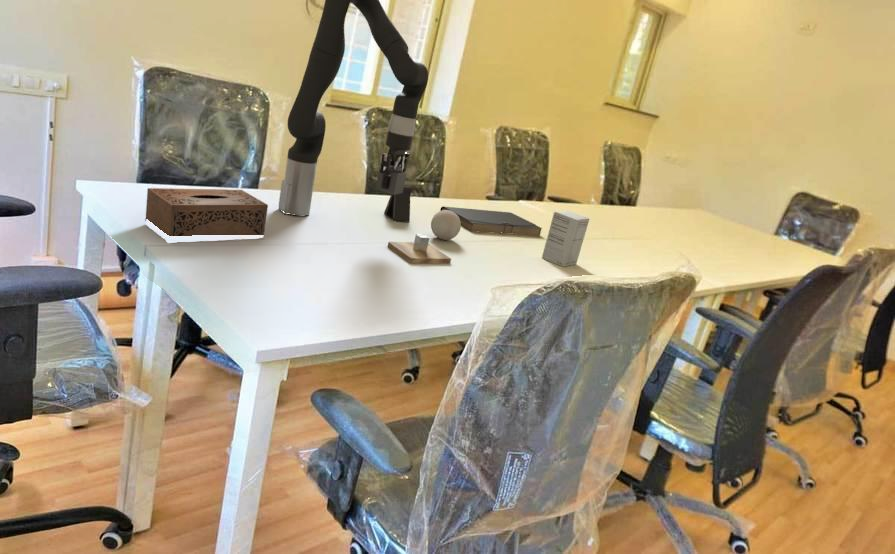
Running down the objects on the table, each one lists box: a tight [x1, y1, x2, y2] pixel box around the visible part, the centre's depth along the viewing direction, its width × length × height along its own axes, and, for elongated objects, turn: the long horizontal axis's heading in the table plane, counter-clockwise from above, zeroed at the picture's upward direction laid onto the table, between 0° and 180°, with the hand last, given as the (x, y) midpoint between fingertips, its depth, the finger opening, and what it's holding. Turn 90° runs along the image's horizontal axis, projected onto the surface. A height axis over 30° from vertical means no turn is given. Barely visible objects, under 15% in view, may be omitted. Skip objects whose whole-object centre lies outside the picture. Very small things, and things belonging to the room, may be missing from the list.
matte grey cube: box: [413, 233, 430, 252], centre depth 188 cm, size 3×3×4 cm
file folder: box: [439, 205, 543, 236], centre depth 248 cm, size 33×4×24 cm
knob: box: [374, 166, 408, 195], centre depth 188 cm, size 6×6×8 cm
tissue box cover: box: [145, 187, 269, 236], centre depth 166 cm, size 26×14×10 cm, turn 136°
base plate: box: [387, 241, 452, 264], centre depth 189 cm, size 14×14×2 cm
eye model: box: [430, 210, 462, 241], centre depth 211 cm, size 10×10×10 cm
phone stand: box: [383, 185, 412, 223], centre depth 224 cm, size 9×6×12 cm, turn 31°
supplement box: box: [541, 210, 590, 268], centre depth 215 cm, size 10×9×17 cm
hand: (389, 187), depth 189 cm, fingers closed on knob, 6 cm apart
